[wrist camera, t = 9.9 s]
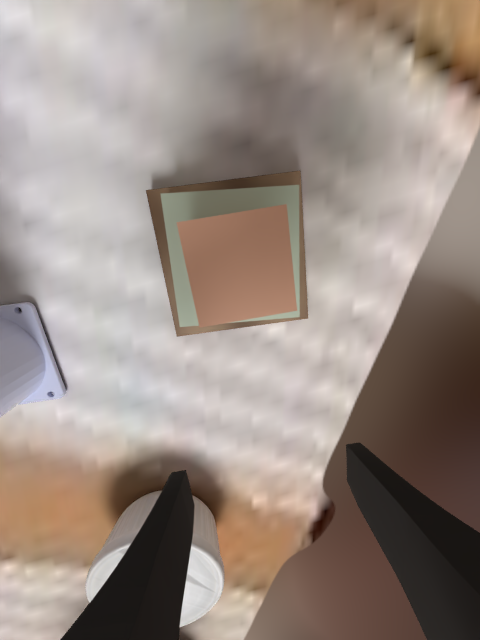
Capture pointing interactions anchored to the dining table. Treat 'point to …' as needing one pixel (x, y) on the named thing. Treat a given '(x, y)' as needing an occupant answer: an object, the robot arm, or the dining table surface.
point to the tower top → (222, 203)
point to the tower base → (248, 182)
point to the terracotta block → (239, 265)
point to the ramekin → (203, 560)
